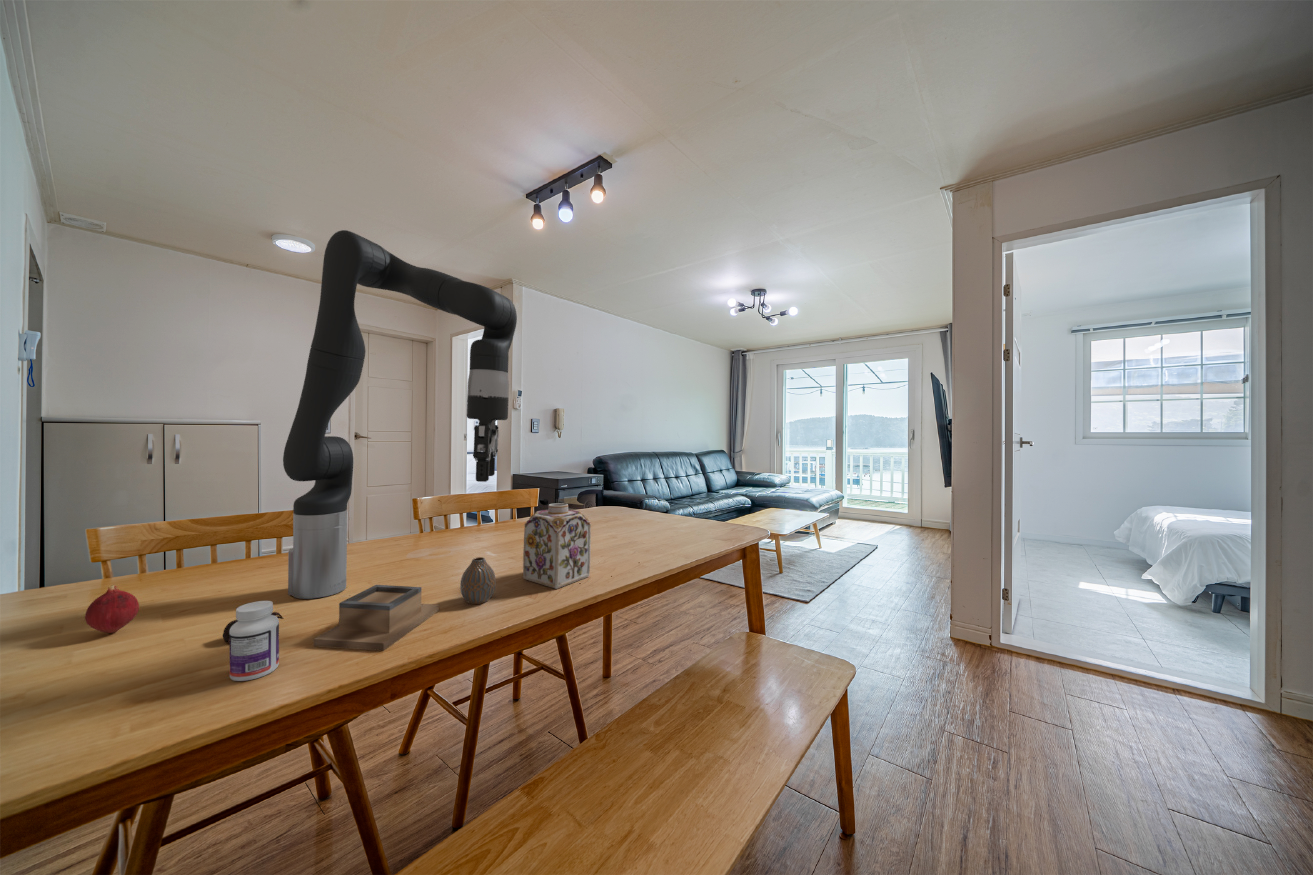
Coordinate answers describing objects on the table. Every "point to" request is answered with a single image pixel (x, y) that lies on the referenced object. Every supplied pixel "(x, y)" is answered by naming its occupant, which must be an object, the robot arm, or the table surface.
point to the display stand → (377, 618)
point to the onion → (112, 610)
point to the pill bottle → (254, 641)
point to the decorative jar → (556, 546)
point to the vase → (478, 582)
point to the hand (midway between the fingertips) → (485, 478)
